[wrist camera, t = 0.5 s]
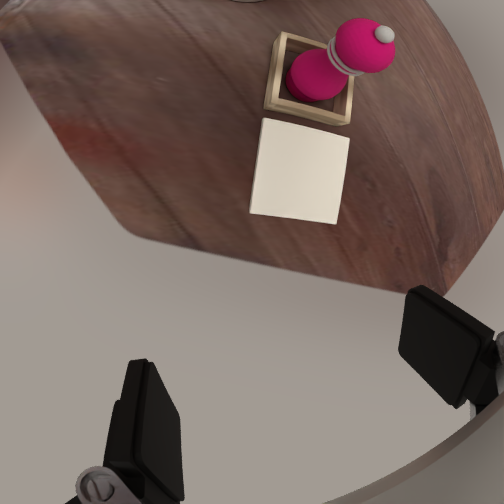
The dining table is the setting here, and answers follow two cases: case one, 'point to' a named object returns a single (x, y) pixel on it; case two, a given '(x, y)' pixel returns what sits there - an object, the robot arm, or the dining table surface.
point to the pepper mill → (341, 60)
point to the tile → (298, 172)
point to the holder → (273, 103)
